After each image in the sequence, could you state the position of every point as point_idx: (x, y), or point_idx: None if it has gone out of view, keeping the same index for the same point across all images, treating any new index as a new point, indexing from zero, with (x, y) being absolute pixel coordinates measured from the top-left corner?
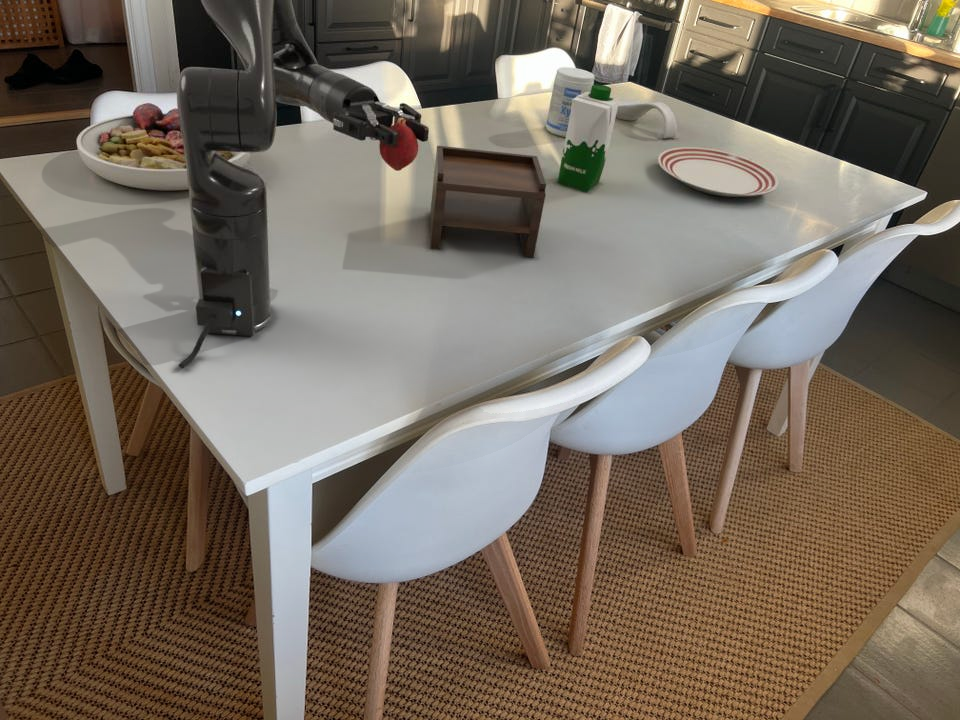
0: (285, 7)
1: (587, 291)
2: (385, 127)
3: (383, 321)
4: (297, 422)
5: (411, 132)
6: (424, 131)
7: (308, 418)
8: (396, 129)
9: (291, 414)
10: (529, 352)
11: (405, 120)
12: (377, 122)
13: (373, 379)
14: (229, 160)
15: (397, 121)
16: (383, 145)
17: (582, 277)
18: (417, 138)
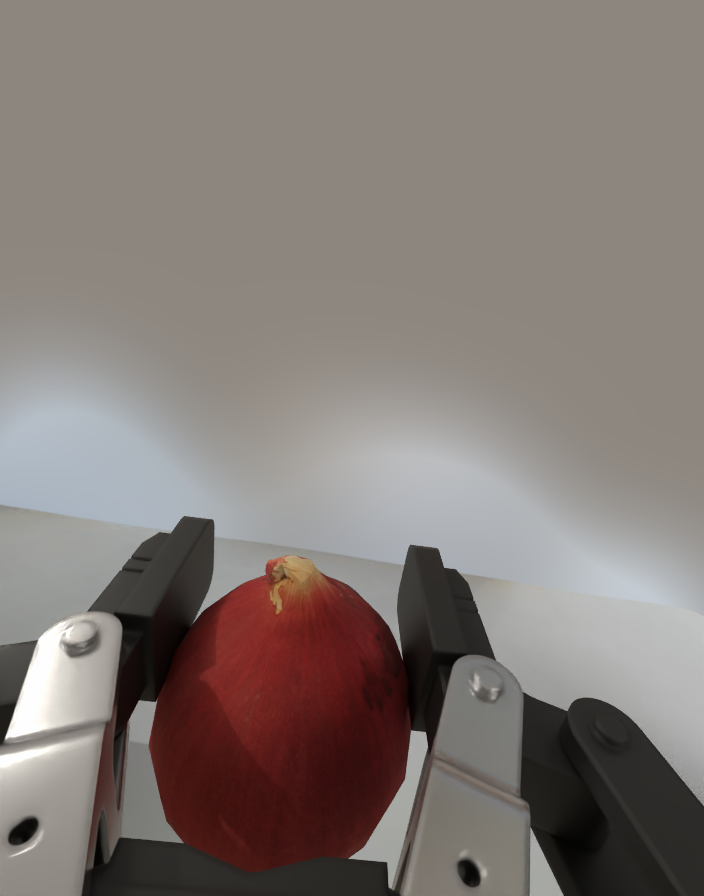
0: None
1: (69, 577)
2: (441, 601)
3: None
4: (650, 635)
5: (264, 575)
6: (210, 534)
7: (635, 632)
8: (354, 597)
9: (659, 648)
10: (311, 559)
11: (270, 560)
12: (462, 675)
13: (536, 634)
14: None
15: (324, 586)
16: None
17: (5, 601)
18: (193, 619)
